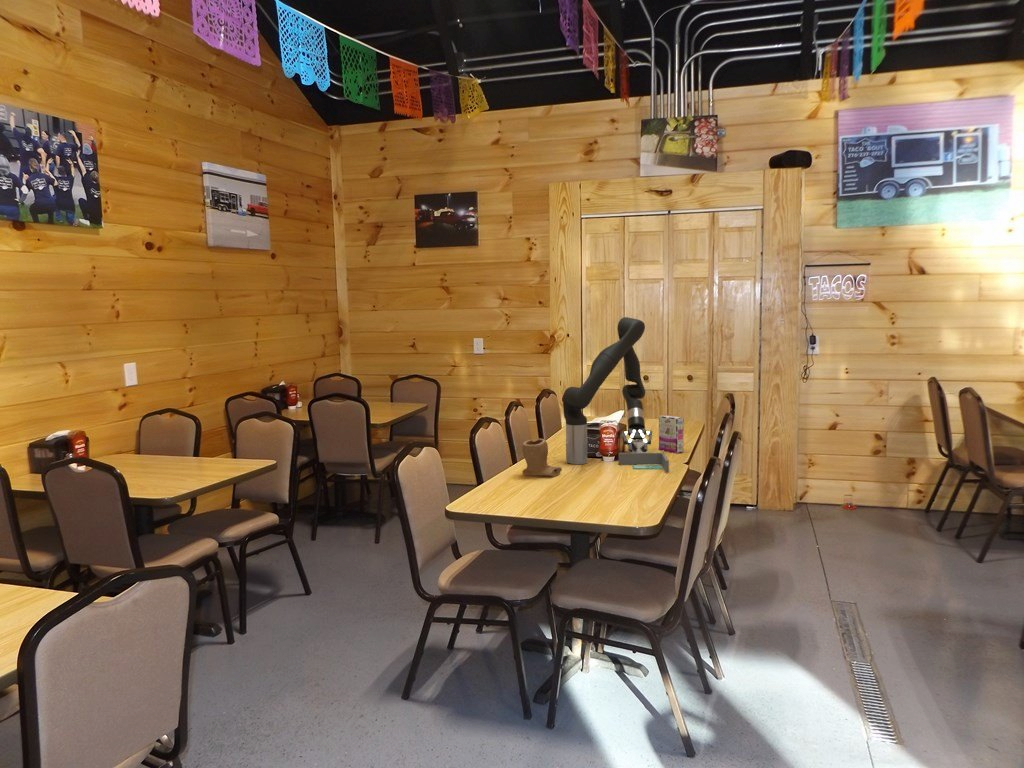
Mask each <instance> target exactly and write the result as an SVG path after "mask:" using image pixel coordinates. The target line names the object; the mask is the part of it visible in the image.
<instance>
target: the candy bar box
mask: <svg viewBox="0 0 1024 768" xmlns="http://www.w3.org/2000/svg"><path fill="white" fill-rule="evenodd" d="M658 450H659V451H661V450H664V451H663V452H667V451H669V452H668V453H672V452H673V453H674V454H680V452H681V453H684V417H682V416H676V415H675V416H674V415H667V414H663V415H659V416H658Z"/></svg>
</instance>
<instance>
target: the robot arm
mask: <svg viewBox="0 0 1024 768" xmlns="http://www.w3.org/2000/svg"><path fill="white" fill-rule="evenodd" d="M616 329H617V335H618V339H619V340H617V341H616V342H614V343H612V344H611V345H609V346H607V347H605V348H604V349H603V350H601V351H600V352H599V353H598V355H597V356H596V358H594V360H593V362H591V367H590V371H589V374H588V375H589V376H587V379H586V380H585V381H584V382H583V384H581V386H579V387H578V386H570V387H567V388H566V389H565V390H564V392H563V395H562V407H563V408H562V410H563V418H564V420H565V462H566V463H572V464H571V465H584V464H587V463H588V419H587V416H586V415H584V413H583V411H582V409H583V410H584V409H585V408H587V407H588V406H589V404H590V403H591V402H592V399H594V396H595V395H596V393H597V392H598V391H599V389H600V387H601V386H602V385H603V384H604V382H605V381H606V380H607V378H608V377H609V376H610V374H611V373H612V372H613V370H615V368H616V367H617V366H618V364H619V363H620V362H621V361H622V359H623V364H624V376H625V377H624V378H625V380H626V381H627V382H629V383H630V382H632V383H633V384H625V385H624V386H623V387H622V391H621V392H622V396H623V398H624V400H625V403H626V409H627V411H626V412H627V417H626V419H627V428H628V429H627V431H625V430H622V431H621V438H622V442H623V444H624V445H625V446H626V445H627V446H628V452H629V453H631V452H632V443H631V441H634V440H641V441H644V453H647V452H648V450H649V449H648V445H652V437H653V430H649V431H647V429H646V423H645V415H644V409H643V402H642V399H644V398H645V396H646V388H645V386H644V384H643V381H642V375H641V365H640V364H641V363H640V361H639V358H638V355H637V353H636V352H635V349H634V345H635V344H636V343H637V342H638V341H640V339H641V338H642V337H643V334H644V333H645V329H646V325H645V322H644V321H642V320H640V319H638V318H632V317H626V316H624V317H621V319H619V321H618V322H617V327H616ZM627 435H628V436H629V439H627ZM646 436H647V437H648V440H647V438H646Z"/></svg>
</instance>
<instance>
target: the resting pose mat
mask: <svg viewBox="0 0 1024 768" xmlns="http://www.w3.org/2000/svg"><path fill="white" fill-rule="evenodd" d="M631 467H632V469H633V470H663V467H662V465H651V467H650V465H631Z"/></svg>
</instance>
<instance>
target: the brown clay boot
mask: <svg viewBox="0 0 1024 768" xmlns="http://www.w3.org/2000/svg"><path fill="white" fill-rule="evenodd" d="M521 449H522V450H521V451H522V454H523V458H524V460H525V462H526V468H524V469H523V470H522V475H526V476H538V477H540V476H541V477H555V476H554V475H556V476H558V475H559V474H560V473H561V472H562V470H563V469H562V467H561V466H551V465H549V464H548V456H549V455H548V454H549V445H548V443H547V441H546V440H545V439H544V438H536V439H529V440H525V441H524V442H523V443H522V445H521ZM557 474H558V475H557Z"/></svg>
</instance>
